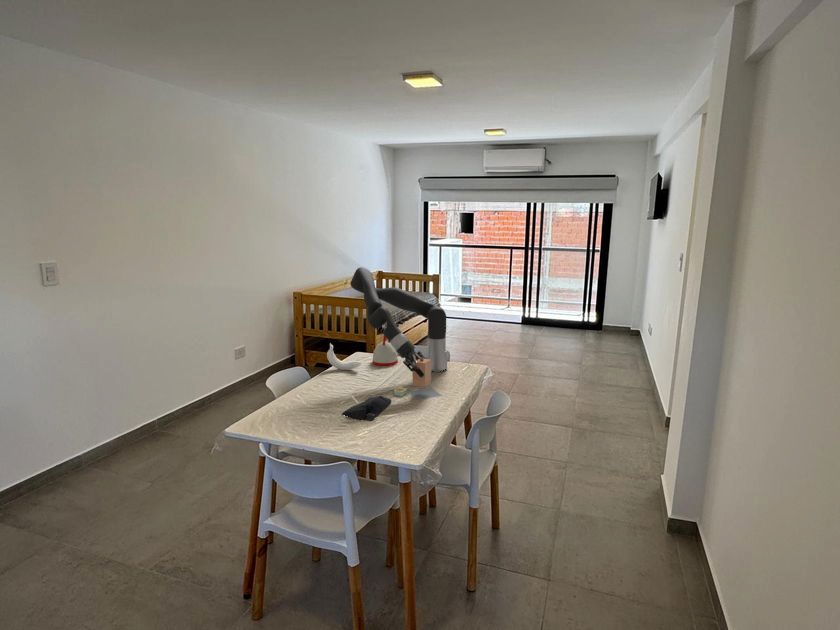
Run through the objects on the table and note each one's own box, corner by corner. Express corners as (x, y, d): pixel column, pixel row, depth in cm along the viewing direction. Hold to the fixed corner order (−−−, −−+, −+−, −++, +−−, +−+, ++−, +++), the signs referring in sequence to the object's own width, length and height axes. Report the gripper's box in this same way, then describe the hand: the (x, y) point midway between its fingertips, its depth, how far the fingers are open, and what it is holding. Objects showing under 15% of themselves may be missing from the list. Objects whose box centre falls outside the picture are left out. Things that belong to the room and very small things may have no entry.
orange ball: (402, 392, 225) (402, 385, 225) (404, 394, 222) (404, 388, 222) (396, 393, 224) (396, 386, 223) (398, 395, 221) (398, 389, 221)
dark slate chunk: (397, 405, 213) (397, 394, 212) (370, 424, 194) (370, 412, 193) (367, 399, 220) (367, 389, 219) (338, 417, 201) (337, 406, 200)
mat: (430, 388, 231) (430, 387, 231) (442, 396, 221) (442, 395, 220) (407, 392, 227) (407, 391, 227) (417, 401, 216) (417, 399, 216)
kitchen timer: (399, 359, 280) (399, 333, 277) (396, 366, 266) (395, 339, 263) (375, 358, 281) (374, 332, 278) (370, 365, 267) (369, 338, 265)
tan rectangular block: (418, 381, 227) (418, 355, 224) (431, 383, 224) (431, 357, 222) (412, 385, 221) (412, 358, 219) (425, 387, 219) (425, 360, 216)
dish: (398, 392, 226) (398, 387, 226) (407, 394, 224) (406, 388, 224) (393, 396, 222) (393, 390, 222) (402, 397, 220) (402, 391, 220)
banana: (360, 372, 256) (359, 345, 253) (325, 370, 260) (324, 343, 257) (363, 369, 261) (362, 342, 258) (329, 367, 265) (328, 341, 262)
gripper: (404, 346, 232) (427, 374, 229) (389, 354, 219) (413, 383, 216) (414, 336, 228) (438, 364, 226) (399, 344, 216) (424, 373, 213)
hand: (425, 374), depth 221 cm, fingers closed on tan rectangular block, 6 cm apart
